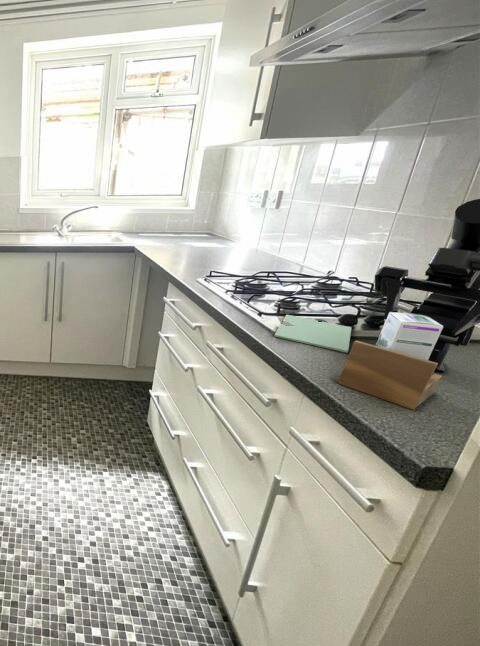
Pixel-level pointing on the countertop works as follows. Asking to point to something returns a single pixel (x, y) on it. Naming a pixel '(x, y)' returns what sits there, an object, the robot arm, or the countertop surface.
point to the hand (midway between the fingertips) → (417, 325)
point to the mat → (315, 333)
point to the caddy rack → (389, 375)
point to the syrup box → (409, 334)
